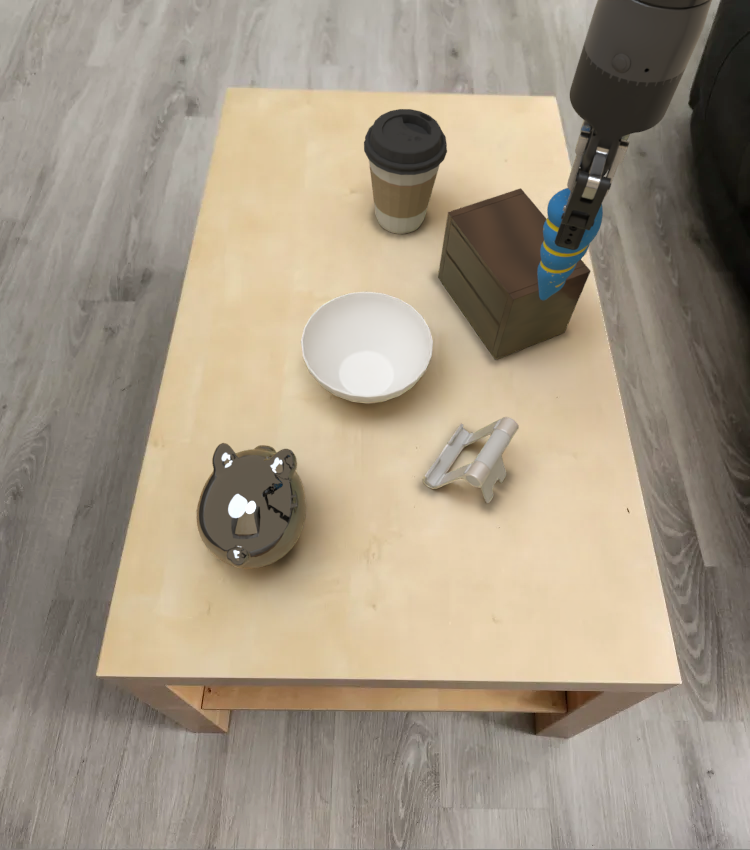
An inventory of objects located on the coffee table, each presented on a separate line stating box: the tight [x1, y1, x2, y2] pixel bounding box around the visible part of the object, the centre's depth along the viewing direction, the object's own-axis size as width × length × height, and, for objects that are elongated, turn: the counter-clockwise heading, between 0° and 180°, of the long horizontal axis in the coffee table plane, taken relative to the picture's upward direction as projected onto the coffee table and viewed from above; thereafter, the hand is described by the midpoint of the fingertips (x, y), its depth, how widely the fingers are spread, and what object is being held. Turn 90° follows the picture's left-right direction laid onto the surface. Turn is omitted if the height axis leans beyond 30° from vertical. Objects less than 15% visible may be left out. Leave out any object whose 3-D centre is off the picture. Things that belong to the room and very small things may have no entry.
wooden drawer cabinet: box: [437, 188, 591, 361], centre depth 90 cm, size 11×16×12 cm
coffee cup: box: [363, 108, 448, 235], centre depth 97 cm, size 11×11×15 cm
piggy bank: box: [196, 442, 307, 570], centre depth 72 cm, size 11×15×12 cm
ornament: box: [537, 187, 604, 300], centre depth 67 cm, size 5×5×15 cm
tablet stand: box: [422, 416, 520, 504], centre depth 78 cm, size 9×8×8 cm
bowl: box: [300, 290, 434, 404], centre depth 85 cm, size 16×16×7 cm
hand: (571, 223), depth 64 cm, fingers closed on ornament, 5 cm apart
